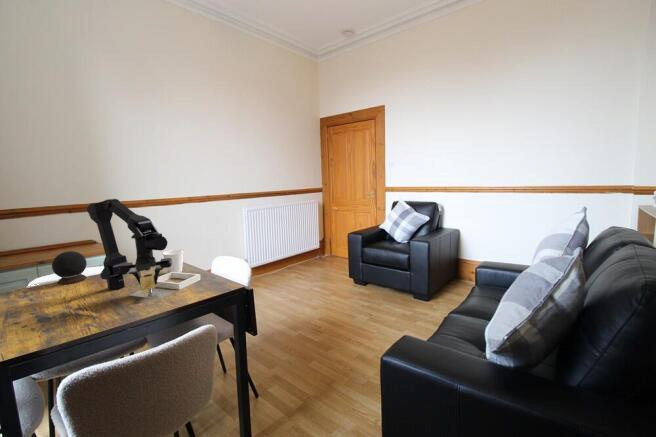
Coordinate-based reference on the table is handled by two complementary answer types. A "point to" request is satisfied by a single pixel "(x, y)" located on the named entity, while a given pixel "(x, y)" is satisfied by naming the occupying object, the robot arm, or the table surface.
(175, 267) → the cup
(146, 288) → the strut
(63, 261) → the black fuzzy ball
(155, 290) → the stud plate
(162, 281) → the bin
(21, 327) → the table surface
